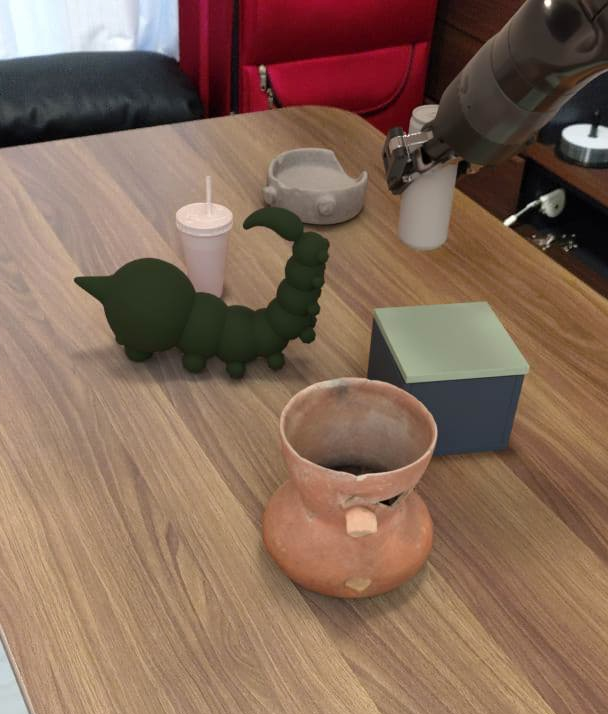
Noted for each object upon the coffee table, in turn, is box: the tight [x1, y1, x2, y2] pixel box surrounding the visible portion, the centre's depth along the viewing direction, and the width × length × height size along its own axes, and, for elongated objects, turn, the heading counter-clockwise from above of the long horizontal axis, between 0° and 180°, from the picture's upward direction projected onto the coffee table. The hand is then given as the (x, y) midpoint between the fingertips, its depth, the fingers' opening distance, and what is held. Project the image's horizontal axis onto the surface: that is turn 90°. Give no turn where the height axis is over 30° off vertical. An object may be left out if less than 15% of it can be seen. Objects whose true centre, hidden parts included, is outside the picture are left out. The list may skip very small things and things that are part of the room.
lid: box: [372, 301, 531, 383], centre depth 92 cm, size 12×12×1 cm
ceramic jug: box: [261, 376, 437, 599], centre depth 80 cm, size 18×14×14 cm
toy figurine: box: [73, 206, 331, 379], centre depth 98 cm, size 9×19×25 cm
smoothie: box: [175, 175, 234, 299], centre depth 109 cm, size 6×6×14 cm
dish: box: [261, 147, 369, 225], centre depth 130 cm, size 14×14×5 cm
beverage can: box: [397, 104, 458, 251], centre depth 90 cm, size 5×5×12 cm
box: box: [366, 316, 526, 457], centre depth 96 cm, size 12×12×9 cm
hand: (419, 181), depth 92 cm, fingers closed on beverage can, 5 cm apart
